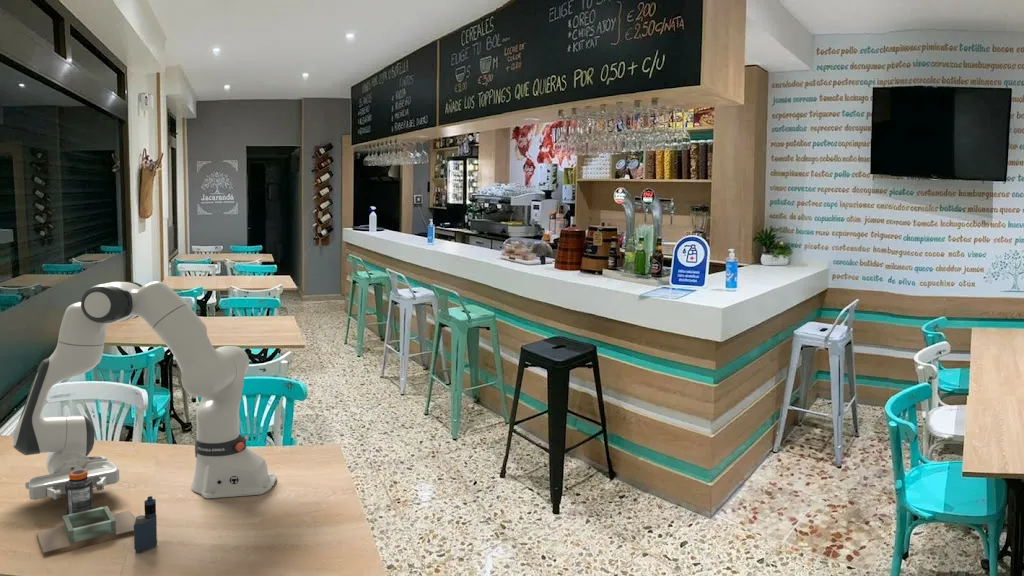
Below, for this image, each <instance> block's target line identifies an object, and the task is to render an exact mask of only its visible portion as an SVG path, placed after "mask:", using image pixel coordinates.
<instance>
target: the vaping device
mask: <svg viewBox="0 0 1024 576" xmlns="http://www.w3.org/2000/svg"><path fill="white" fill-rule="evenodd" d="M156 501H157V500H156V499H155V498H153V496H152V495H150V496H148V497H147V499H146V500H144V505H143V506H144V514H142V515H141V514H140V515H137V516H136V517H135V519H136V521H135V524H134V534H133V541H134V542H133V546H134V547H133V548H134V551H135V552H136V553H138V554H142V553H145V552H147V551H149V550H152V549H153V548H155V547H156V546H158V534H157V532H158V531H157V525H158V524H157V504H156V503H157V502H156Z"/></svg>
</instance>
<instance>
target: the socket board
mask: <svg viewBox="0 0 1024 576" xmlns="http://www.w3.org/2000/svg"><path fill="white" fill-rule="evenodd" d="M61 517H62V525H59V526H55V527H51V528H47V529H42V530H38V531H36V537H37V541H38V544H39V547H40V550H41V553H42V557H48V556H51V555H55V554H60V553H63V552H66V551H67V552H68V551H71V550H76V549H79V548H84V547H87V546H88V547H89V546H91V545H95V544H99V543H104V542H107V541H113V540H115V539H119V538H120V539H121V538H123V537H127V536H131V535H134V524H135V521H136V517H135V516H134V515H133V513H132V510H130V509H129V510H125V511H121V512H117V513H112V511H111V509H110V508H109V506H108V505H105V506H100V507H95V508H94V509H92V510H87V511H83V512H78V513H74V514H69V515H67V514H65V515H62V516H61Z"/></svg>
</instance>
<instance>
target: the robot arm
mask: <svg viewBox="0 0 1024 576" xmlns="http://www.w3.org/2000/svg"><path fill="white" fill-rule="evenodd" d="M64 311H65V312H64V314H63V317H62V319H61V324H60V327H59V332H58V339H57V344H56V347H55V349H54V351H53V352H52V353H51V355H50V356H49V357H47V358H45V359H43V360H42V361H41V362H40V363H39V366H38V367H37V369H36V372H35V375H34V377H33V380H32V383H31V386H30V389H29V391H28V394H27V398H26V400H25V403H24V407H23V410H22V411H21V415H20V417H19V418H18V419H19V420H18V422H17V424H16V426H15V427H14V429H13V433H12V446H13V447H12V448H14V449H15V450H16V451H17V452H18V453H21V454H22V455H24V456H31V455H38V454H44V453H45V454H46V453H47V455H46V464H45V465H46V470H47V473H48V474H44V475H39V476H36V477H32V478H31V479H30V480H29V481H28V482H25V484H24V488H25V489H26V490H28V496H29V500H34V501H37V500H41V499H47V498H53V500H59V499H62V495H65V484H66V482H67V481H68V480H69V473H70V472H72V471H74V470H79V469H85V470H87V472H88V476H87V477H90V478H91V479H92V486H93V489H94V488H96V490H97V491H102V490H104V489H105V486H108V485H113V484H117V483H118V482H120V469H119V467H118V466H117V465H116V464H115V463H114V462H112V461H110V460H108V457H107V456H106V455H105V456H88V455H89V454H90V453H91V451H92V450H93V448H94V444H95V433H96V432H95V428H94V425H93V423H92V421H91V420H90V419H89V418H88V417H87V416H85V415H64V416H41V415H42V411H43V410H44V406H45V403H46V400H47V398H48V397H47V396H48V394H49V392H50V390H51V389H52V388H53V387H54V386H55V385H56V384H58V383H61V382H62V381H65V380H67V379H71V378H74V377H77V376H81V375H83V374H85V373H87V372H89V371H92V370H93V369H94V368H96V366H97V365H99V363H100V362H101V361H102V358H103V355H104V350H105V342H106V335H107V334H106V333H107V329H108V327H109V326H110V325H111V323H121V322H125V321H126V322H127V321H129V320H133V319H137V318H142V319H143V321H145V322H146V323H147V324H148V326H149V327H150V328H151V330H153V332H154V333H155V334H156V335H157V336H158V337H159V339H160V340H161V341H162V342H163V344H165V346H166V347H167V348H168V349H169V350H170V352H171V353H172V355H173V357H174V359H175V360H176V362H177V366H178V367H179V369H180V373H181V377H180V378H181V379H180V381H181V385H182V387H183V389H184V391H186V393H187V394H189V395H191V396H192V397H195V398H200V402H199V404H198V407H197V409H196V437H195V440H194V441H195V442H194V454H195V458H196V460H195V461H196V462H195V469H194V475H193V479H192V483H191V486H190V487H191V490H192V491H193V492H194V493H197V494H199V495H201V496H202V497H203V498H204V499H216V498H217V499H218V498H232V497H245V496H246V497H247V496H256V495H257V496H258V495H263V494H265V493H267V492H269V491H270V490H271V489H272V488H273V487H272V486H274V485H275V484H274V483H276V482H277V476H276V474H275V473H274V472H272V471H269V470H268V464H267V462H266V459H265V458H264V457H263V456H261V455H259V454H257V453H256V452H254V451H253V450H251V449H250V448H248V447H247V441H248V435H246V436H242V435H241V434H240V405H241V400H242V394H243V389H244V381H245V376H246V374H247V372H248V369H249V366H250V358H249V355H248V354H247V352H246V350H244V349H243V348H241V347H239V346H235V345H224V346H220V347H218V348H215V347H214V346H213V344H212V343H211V341H210V337H208V336H209V335H208V333H207V332H208V329H207V325H206V324H205V323H204V322H203V320H202V319H201V318H200V317H199V316H198V314H196V313H195V311H194V310H193V308H192V307H191V306H190V305H189V304H188V303H187V301H185V300H184V299H183V298H182V297H181V296H180V295H179V294H178V293H177V292H176V291H175V290H174V289H172V287H170V286H169V285H167V284H166V283H164V282H163V281H158V280H156V281H150V282H147V283H145V284H143V285H142V284H140V283H138V282H135V281H111V282H106V283H100V284H96V285H94V286H92V287H90V288H89V289H86V291H85V292H84V294H83V295H82V296H81V300H80V301H77V302H74V303H72V304H70V305H69V306H67V308H66V310H64ZM275 481H276V482H275Z"/></svg>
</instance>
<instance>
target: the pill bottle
mask: <svg viewBox="0 0 1024 576" xmlns="http://www.w3.org/2000/svg"><path fill="white" fill-rule="evenodd" d="M87 476H88V472H87V470H85V469H79V470H74V471H72V472H70V473H69V480H68V481H67V482H66V484H65V494H64V495H65V507H66V508H65V509H66V510H65V511H66V515H69V514H74V513H78V512H83V511H87V510H92V509H95V508H94V490H93V489H94V488H93V486H92V479H91V478H90V477H87Z"/></svg>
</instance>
